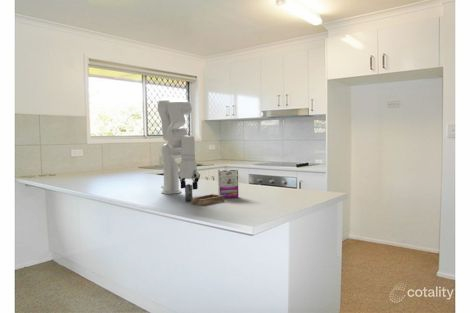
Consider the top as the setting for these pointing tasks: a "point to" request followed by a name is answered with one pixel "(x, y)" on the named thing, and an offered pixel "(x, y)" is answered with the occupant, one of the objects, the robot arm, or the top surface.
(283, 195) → the top surface
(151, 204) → the top surface
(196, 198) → the tray
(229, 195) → the candy bar box
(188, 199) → the battery cell
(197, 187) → the robot arm
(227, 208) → the top surface
